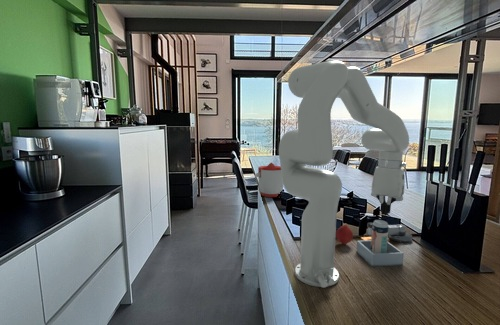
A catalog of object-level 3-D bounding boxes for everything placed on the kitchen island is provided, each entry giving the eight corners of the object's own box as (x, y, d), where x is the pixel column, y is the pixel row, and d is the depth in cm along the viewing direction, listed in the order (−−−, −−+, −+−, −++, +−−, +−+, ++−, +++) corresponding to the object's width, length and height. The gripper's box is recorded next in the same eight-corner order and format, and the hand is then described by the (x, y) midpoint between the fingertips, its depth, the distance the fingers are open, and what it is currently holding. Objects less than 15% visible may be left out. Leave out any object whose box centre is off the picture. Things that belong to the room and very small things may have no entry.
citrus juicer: (252, 192, 177) (253, 161, 174) (279, 191, 180) (280, 160, 177) (258, 199, 161) (258, 165, 158) (287, 198, 164) (288, 164, 161)
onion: (341, 248, 100) (342, 227, 99) (332, 242, 106) (333, 221, 104) (355, 247, 102) (356, 225, 100) (346, 240, 107) (347, 220, 106)
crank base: (416, 242, 106) (417, 238, 105) (368, 244, 104) (368, 240, 103) (403, 233, 114) (403, 229, 113) (358, 235, 112) (358, 231, 111)
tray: (402, 265, 89) (403, 253, 89) (372, 266, 88) (372, 254, 87) (384, 250, 99) (385, 239, 99) (356, 251, 98) (357, 240, 97)
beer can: (372, 251, 97) (374, 218, 95) (387, 256, 94) (390, 221, 92) (368, 257, 93) (370, 222, 91) (383, 261, 90) (386, 225, 88)
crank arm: (402, 231, 111) (403, 221, 110) (407, 235, 107) (408, 224, 107) (364, 232, 110) (365, 222, 109) (369, 236, 106) (370, 225, 106)
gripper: (415, 166, 99) (410, 216, 101) (371, 161, 108) (367, 207, 111) (410, 168, 93) (404, 221, 95) (364, 163, 103) (360, 211, 105)
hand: (384, 214), depth 103 cm, fingers closed
